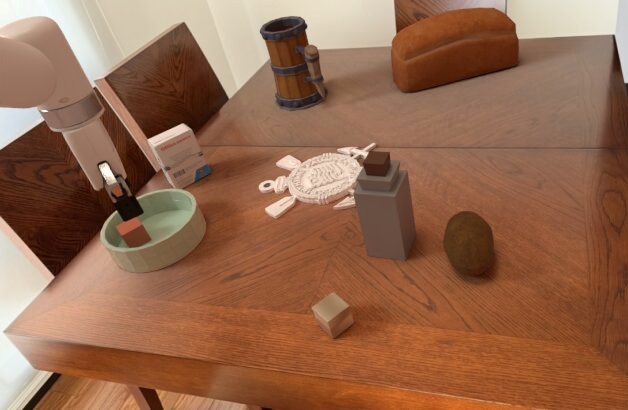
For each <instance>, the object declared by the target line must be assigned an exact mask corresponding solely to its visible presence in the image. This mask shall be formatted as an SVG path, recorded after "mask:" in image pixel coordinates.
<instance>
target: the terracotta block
mask: <svg viewBox="0 0 628 410" xmlns="http://www.w3.org/2000/svg"><path fill="white" fill-rule="evenodd" d="M115 227H116V229H117V230H118V232H119V234H120V235H121V237H122V238H123V240H124V241H125V243H126V244H127V245H128V247H129V248H135V247H140V246H141V245H143V244H145V243H147V242H149V241H150V240H151V238H150V236H149V234H148V233H147V231H146V229H145V228H144V226H143V224H142V223H141V222H140V221H139V220H138V218H137V217H135V218H133V219H131V220H129V221H126V222H123V223H121V224H119V225H117V226H115Z"/></svg>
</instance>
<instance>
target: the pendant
mask: <svg viewBox="0 0 628 410" xmlns="http://www.w3.org/2000/svg"><path fill="white" fill-rule="evenodd" d="M376 147H377V144H376V143H375V142H372V143H370V144H369V145H367V146H366V147H364V148H363V149H359V147H358V146H345V147H341V148H337V149H336V151H337V153H335V152H334V153H332V152H326V153H325V152H323V153H322V154H320V155H317V156H312V157H310V158H308V159H306V160H305V161H301V160H299V159H298V158H296V157H295V156H293V155H291V154H288V155H286V156H284V157H282V158H281V159H279V160H278V161H277V162H276V163H275V165H276V167H278V168H281V169H284V170H287V171H290V173H289V174H288V176H287V177H286V175H281V176H277V178H276V179H275V180H272V179H269V180H264V181H262V182H260V184H258V190H259V192H260V193H261V194H268V193H272V192H273V191H274V193H275V194H276V195H281V194H284V193H285V192H286V190H287V189H288V191H289V193H290V194H291V196H284V197H283V198H281V199H279V200H278V201H276V202H273V203H272V204H270V205H268V206H267V207H265V208H264V210H265V213H267V215H268V216H270V217H272V218H273V219H276V220H278V219H279V218H280V217H282V216H283V215H285V214H286V213H287V212H288V211H290V209H292V208H294V206H296V202H297V201H299V202H302V203H306V204H313V205H315V204H316V205H319V206H325V205H329V204H330V203H331V202H335V201H337V200H340V199H342V198H344V197H345V196H346V197H345V198H344V199H343V200H342V201H339V202H338V203H337V204H336V205H334V206H332V210H333V211H339V210H342V211H343V210H348V209H351V208H352V209H353V208H355V207H356V204H355V199H354V195H353V192H354V191H355V189H356V187H357V185H358V184H359V183H358V181H357V180H356V178H357V177H358V175H359V173H360V171H361V170H362V168H363V166H361V165H360V163H359V162H358V159H360V158H362V159H363V160H365V158H366V156H367V155H368V153H369V151H373V150H374V149H375V148H376ZM352 155H353V156H352ZM347 195H350V196H351V197H349V196H347Z"/></svg>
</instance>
